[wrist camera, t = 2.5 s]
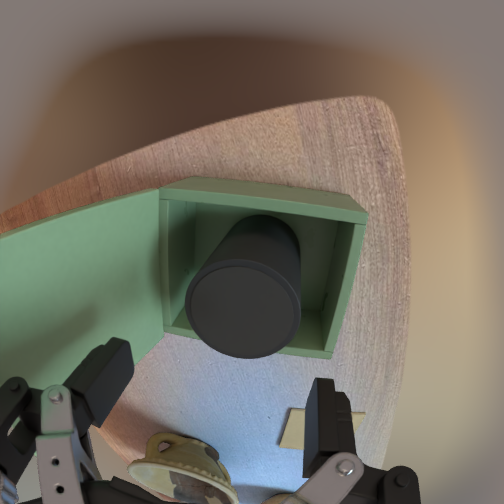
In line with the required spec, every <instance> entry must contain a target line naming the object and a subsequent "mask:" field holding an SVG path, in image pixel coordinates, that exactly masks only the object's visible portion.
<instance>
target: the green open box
mask: <svg viewBox="0 0 504 504" xmlns="http://www.w3.org/2000/svg"><path fill="white" fill-rule="evenodd" d="M158 189H159V262H160V285H161V302H162V316H163V329H164V332H167V333H171V334H175V335H180V336H184V337H189V338H194V339H198V340H201V339H200V338H199V337H198V336H197V334H196V333H195V332H194V330H193V329H192V327H191V325H190V323H189V321H188V318H187V315H186V311H185V295H186V291H187V288H188V286H189V284H190V282H191V280H192V279H193V277H194V276H195V275H196V274H197V272H198V271H199V270H200V268H201V267H202V266H203V264H204V263H205V262H206V260H207V259H208V258H209V256H210V255H211V254H212V253H213V251H214V250H215V249H216V247H217V246H218V245H219V243H220V242H221V241H222V240H223V238H224V237H225V236H226V234H227V233H228V232H229V231H230V229H231V228H232V227H233V226H234V225H235V224H236V223H237V222H238V221H240V220H241V219H243V218H245V217H248V216H252V215H260V214H262V215H270V216H273V217H276V218H278V219H280V220H282V221H283V222H285V223H286V224H287V225H289V226H290V228H291V229H292V230H293V231H294V233H295V234H296V236H297V238H298V241H299V245H300V260H301V319H300V325H299V328H298V330H297V332H296V334H295V336H294V337H293V339H292V340H291V341H290V342H289V343H288V344H287V345H286V346H285V347H284V348H283V349H281V350H279V351H278V352H276V353H279V354H287V355H295V356H303V357H311V358H321V359H331V357H332V354H333V351H334V348H335V345H336V342H337V339H338V335H339V332H340V329H341V326H342V322H343V319H344V315H345V312H346V308H347V305H348V301H349V297H350V294H351V290H352V286H353V282H354V278H355V274H356V270H357V266H358V262H359V257H360V253H361V249H362V244H363V239H364V235H365V230H366V224H367V220H368V215H369V214H368V212H367V211H366V210H365V209H363V208H362V207H361V206H360V205H359V204H358V203H357V202H356V201H355V200H354V199H353V198H352V197H351V196H350V195H345V194H339V193H333V192H327V191H320V190H313V189H306V188H299V187H292V186H284V185H277V184H268V183H260V182H251V181H241V180H231V179H221V178H209V177H197V176H192V177H189V178H186V179H183V180H180V181H177V182H174V183H171V184H168V185H165V186H162V187H159V188H158Z"/></svg>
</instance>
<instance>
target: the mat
mask: <svg viewBox="0 0 504 504" xmlns="http://www.w3.org/2000/svg"><path fill="white" fill-rule="evenodd" d="M351 414H352V422H353V429H354V434H355V432H356V430H357V429H358V427H359V425H360V424H361V422H362V420H363V419H364V417H365V415H366V413H358V412H351ZM304 426H305V409H297V408H291V412H290V415H289V418H288V421H287V424H286V427H285V430H284V433H283V436H282V439H281V442H280V445H279V447H280V448H289V449H301V450H304Z"/></svg>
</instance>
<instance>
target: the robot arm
mask: <svg viewBox="0 0 504 504" xmlns="http://www.w3.org/2000/svg"><path fill="white" fill-rule="evenodd" d="M133 374H134V361H133V356H132V351H131V346H130V342H129V341H127V340H124V339H120V338H117V337H112V338H110V340H109V341H108V342H107V343H106V344H105V345H103V344H101V345H99V346H97V347H96V348H94V349H92V350H91V351H90V352H89V354H88V355H87V356H86V358H84V359H83V360H82V362H81V364H79V365H78V366H77V367H76V369H75V370H74V371H73V372H72V373H71V374H70V376H69V377H68V378H67V379H66V380H65V381H64V383H63V384H62V385H58V384H56V385H51V386H49V387H47V388H46V389H44V390H41V389H36V388H31V387H29V385H28V383H27V382H26V380H25V379H24V378H22V377H18V376H16V377H11V378H9V379H8V380H7V381H6V382H5V383H4V384H3V385H2V386H1V387H0V504H15V503H16V502H18V500H19V497H18V495H17V489H16V484H17V482H18V480H19V479H20V477H21V475H22V473H23V472H24V470H25V468H26V467H27V465H28V463H29V461H30V460H31V458H32V456H33V455H34V453H35V452H36V453H37V463H38V464H37V465H38V474H39V481H40V489H41V495H42V497H40V498H37V499H33V500H30V501H26V502H22V503H18V504H196V503H180V502H168V501H163V500H160V499H159V498H157V497H155V496H154V495H152V494H150V493H149V492H147V491H146V490H144V489H142V488H141V487H139V486H137V485H135V484H132V483H130V482H127V481H124V480H122V479H120V478H117V477H115V476H113V478H112V480H111V481H108V480H102V477H101V475H100V473H99V471H98V468H97V466H96V462H95V458H94V453H93V449H92V444H91V439H90V434H89V430H88V429H89V427H90V425H91V424H92V425H94V426H96V427H98V428H100V427H101V425H102V424H103V422H104V421H105V419H106V417H107V416H108V414H109V413H110V411H111V410H112V408H113V406H114V405H115V403H116V402H117V400H118V399H119V397H120V396H121V394H122V392H123V391H124V389H125V388H126V386H127V385H128V383H129V382H130V380H131V379H132V377H133ZM18 417H19V419H20V420H19V422H18V423H17V425H16V426H15V427H14V429H13V430H12V432H11V433H10V435H9V436H7V433H8V430H9V429H10V427H11V426H12V425H13V423H14V422H15V420H16V419H17V418H18ZM302 478H309V479H308V480H307V481H306V482H305V483H304V484H303V485H302V486H301V487H300V488H299V489H298V490H297V491H296V492H294V493H293V494H291V495H289V496H288V497H286V498H285V499H284V500H283V501H282V502H281V503H279V504H421V500H420V491H419V483H418V477H417V475H416V473H415V472H414V471H413V470H412V469H411V468H408V467H406V466H396V467H393V468H391V469H390V470H389V471H385V470H380V469H376V468H372V467H369V466H367V465H365V464H364V463H363V462H362V461H361V459H360V458H359V457H358V456H357V453H356V447H355V437H354V429H353V422H352V414H351V405H350V401H349V399H348V398H347V396H346V395H345V393H344V392H336V391H335V385H334V380H333V379H327V378H315V379H314V382H313V385H312V388H311V391H310V394H309V396H308V399H307V403H306V407H305V426H304V456H303V477H302Z"/></svg>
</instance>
